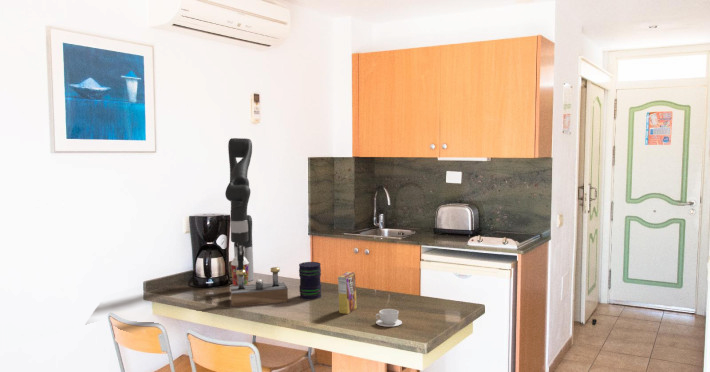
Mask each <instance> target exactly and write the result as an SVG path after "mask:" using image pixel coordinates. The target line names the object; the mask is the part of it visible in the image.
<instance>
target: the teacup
mask: <svg viewBox="0 0 710 372" xmlns="http://www.w3.org/2000/svg"><path fill="white" fill-rule="evenodd" d="M399 312H400V311H399V310H397V309H395V308H385V309H380V310H379V312H378V313H376V314H375V319H376V321H375V324H377V325H378V326H382V327H387V328H388V327H389V328H390V327H398V326H400V325H402V324H403V321H402V320H401V319H399ZM378 316H379V317H378ZM383 323H384V324H383Z"/></svg>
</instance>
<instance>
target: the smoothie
mask: <svg viewBox="0 0 710 372" xmlns="http://www.w3.org/2000/svg"><path fill="white" fill-rule="evenodd" d="M230 267H231V278H232V279H231V280H232V286H238V285H239V284H238V275H236V271H237V270H238V261H237V256H236V257H233V258H232V260H231V263H230ZM243 270H245V272H246V274H244V285H249V281H248V276H249V262H248V260H247V259H246V257H244V261H243Z"/></svg>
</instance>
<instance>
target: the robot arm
mask: <svg viewBox="0 0 710 372" xmlns="http://www.w3.org/2000/svg"><path fill="white" fill-rule="evenodd" d="M227 143H228V145H227V148H228V149H227V151H228V152H227V153H228V160H229V183H228V184H227V187H226V188H225V192H224V193H225V195H224V196H225V198H226V200H228V201H229V202H230V223H229V225H230V226H229V227H230V242H232V243H233V252H234V254H233V255H234V256H233V258H235V257H236V256H237V261H238V270H243V261H244V257H246V259H247V260H248V262H249V276H248V282H251V281H254V278H255V277H254V255H253V254H254V252H253V218H252V216H251V215H250V214H248V204H249V200H250V197H251V188H250V180H249V178H248V173H249V172H248V171H249V167H250V164H251V159H252V154H253V143H252V140H251V139H250V138H243V137H242V138H239V137H238V138H237V137H235V138H234V137H233V138H232V137H231V138H229V140H228V142H227ZM238 158H239V159H240V160H239V161H238V160H237V159H238Z"/></svg>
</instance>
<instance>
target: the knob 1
mask: <svg viewBox="0 0 710 372" xmlns="http://www.w3.org/2000/svg"><path fill="white" fill-rule="evenodd" d="M244 274H246V272H245V270H237V271H236V275H238V284H239V290H240V289H244Z"/></svg>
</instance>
